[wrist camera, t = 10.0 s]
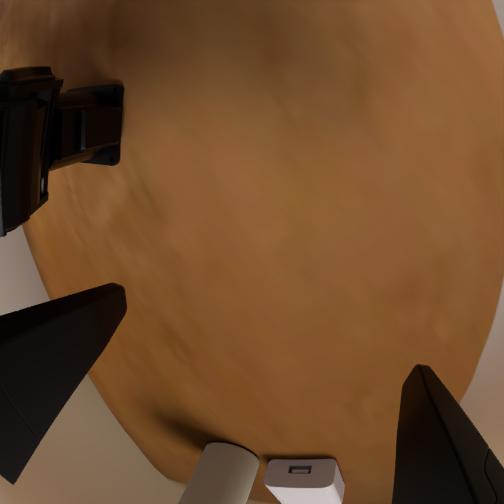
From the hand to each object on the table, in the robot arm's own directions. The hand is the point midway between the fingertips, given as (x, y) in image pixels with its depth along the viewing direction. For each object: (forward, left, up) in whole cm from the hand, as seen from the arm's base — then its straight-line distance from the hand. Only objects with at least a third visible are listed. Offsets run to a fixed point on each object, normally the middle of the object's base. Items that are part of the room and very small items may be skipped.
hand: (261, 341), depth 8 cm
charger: (+11, -39, -14) cm, 42 cm away
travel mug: (-2, -36, -13) cm, 38 cm away
